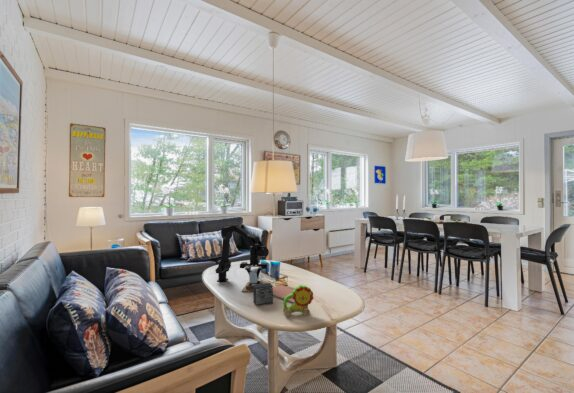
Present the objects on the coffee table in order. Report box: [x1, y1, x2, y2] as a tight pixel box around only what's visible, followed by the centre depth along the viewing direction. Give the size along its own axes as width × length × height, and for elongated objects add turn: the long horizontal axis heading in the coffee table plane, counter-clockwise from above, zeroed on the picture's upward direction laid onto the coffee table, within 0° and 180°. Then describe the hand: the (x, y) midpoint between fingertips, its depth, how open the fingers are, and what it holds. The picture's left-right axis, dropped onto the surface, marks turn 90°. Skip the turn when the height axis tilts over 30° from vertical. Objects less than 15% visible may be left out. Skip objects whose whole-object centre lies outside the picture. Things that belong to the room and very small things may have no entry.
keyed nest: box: [241, 279, 268, 293], centre depth 195 cm, size 18×13×3 cm
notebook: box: [273, 284, 295, 305], centre depth 182 cm, size 27×17×2 cm, turn 44°
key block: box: [248, 268, 260, 283], centre depth 195 cm, size 4×9×7 cm, turn 173°
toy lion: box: [283, 284, 314, 318], centre depth 153 cm, size 16×5×15 cm, turn 99°
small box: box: [252, 282, 274, 306], centre depth 169 cm, size 11×6×10 cm, turn 109°
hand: (254, 278), depth 195 cm, fingers closed on key block, 4 cm apart
